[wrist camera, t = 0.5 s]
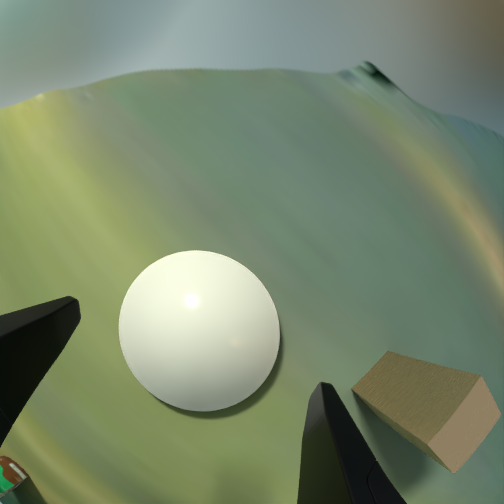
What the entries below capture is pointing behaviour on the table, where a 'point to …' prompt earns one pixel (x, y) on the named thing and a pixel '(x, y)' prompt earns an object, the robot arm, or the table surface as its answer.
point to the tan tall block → (430, 406)
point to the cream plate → (199, 330)
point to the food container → (10, 475)
